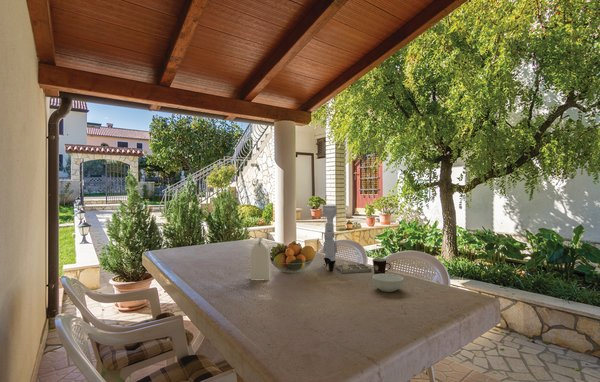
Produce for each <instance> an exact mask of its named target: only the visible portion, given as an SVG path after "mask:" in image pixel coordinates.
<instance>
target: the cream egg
mask: <svg viewBox="0 0 600 382" xmlns="http://www.w3.org/2000/svg"><path fill="white" fill-rule="evenodd" d="M342 265H343V266H342V269H343V270H347V269H349V266H348V265H349V263H348V262H345V261H344V262H343V263H342Z"/></svg>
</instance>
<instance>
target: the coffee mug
mask: <svg viewBox="0 0 600 382" xmlns="http://www.w3.org/2000/svg"><path fill="white" fill-rule="evenodd" d="M387 265H388V266H389V267H388V269H386V267H387ZM372 266H373V272H374V274H373V275H375V274H386V272H388V271H389V270H390V269H392V268H391V267H392V266H391V263H389V262H387V259H385V258H382V257H377V258H372Z"/></svg>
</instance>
